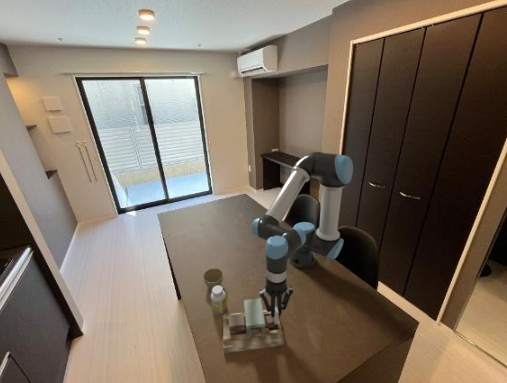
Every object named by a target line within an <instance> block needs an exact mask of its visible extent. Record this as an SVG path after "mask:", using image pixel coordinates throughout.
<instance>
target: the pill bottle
mask: <svg viewBox="0 0 507 383" xmlns="http://www.w3.org/2000/svg"><path fill="white" fill-rule="evenodd" d="M226 294H227V293H226V292H225V291H224V289H223V286H221V285H220V286H219V285H218V286H215V287H213V289H211V294H210V301H211V302H210V303H211V309H212V311H213V313H214V314H216V315H221V314H223V313H225V312H226V310H227V307H228V305H227V297H226V296H227V295H226Z"/></svg>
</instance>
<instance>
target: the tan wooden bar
mask: <svg viewBox="0 0 507 383" xmlns="http://www.w3.org/2000/svg"><path fill="white" fill-rule="evenodd" d="M241 313H242V314H235V313H233V314H234V315H229V331H230V335H238V334H245V331H246V319H244V313H243V312H241ZM264 320H265V328H270V329H271V328H275V327H276V324H275V321H274V317H272V316H264ZM250 329H251V330H257V329H261V327H256V328H250Z"/></svg>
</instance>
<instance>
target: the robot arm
mask: <svg viewBox="0 0 507 383" xmlns="http://www.w3.org/2000/svg"><path fill="white" fill-rule="evenodd" d="M290 173H291V174H289V176H288V178H287V179H286V181H285V182H284V184H283V186H282V187H281V189H280V190H279V192H278V194H277V195H276V197H275V198H274V200H273V201H272V203H271V204H270V206H269V208H268V209H267V211H266V212H265V213H264V214H263V217H262V218H261V217H257V218H255V219H254V220H253V221H252V223H251V226H250V230H251V233H252V235H254V236H256V237H257V238H259V239H262V240H265V241H266V242H265V252H264V253H265V262H266V263H265V279H266V280H265V282H266V283H265V286H264V289H259V290H258V291H259V298H261V300H263V303H264V306H265V308H266V309H265V310H267V312H270V311H271V316H272V317H274V321H275V325H277V324H278V317H281V316H282V313H283V312H282V311H285V310H286V309H287V306H288V304H289V301H290V298H291V296H292V295H293V293H294V290H293V287H292V286H291V285H290V286H288V285H287V276H288V275H287V274H288V262H289V263H290V265H292V266H294V267H295V268H298V269H309V268H312V267H313V266H314V265H315V262H316V256H315V254H316V255H320V256H322V257H324V258H327V259H329V260H335V259H336V258H337V257H338V256H339V254H340V252H341V250H342V247H343V246H344V239H343V238H341V237H340V236H341V234H340V232H339V230H338V227H339V226H338V225H339V217H340V211H341V209H340V208H341V202H342V194H343V193H342V192H343V188H344V187H347V184H350V183H351V180H352V179H353V178H352V176H353V174H354V165H353V160H352V159H351V157H349V156H348V155H342V154H339V153H337V154H336V153H330V152H321V151H314V152H313V151H312V152H310V153H307V154H306V155H304V156H302V157H301V158H299V159H298V161H296V162H295V163H294V165H293V166H292V167H291V169H290ZM311 178H318V179H319V185H320V186H321V187H322V190H321V202H320V217H319V227H318V228H317V229H316V226H315V224H313V223H311V222H309V221H308V222H307V221H303V222H302V221H301V222H298V223H296V224H295V225H293V227H292V228H291V227H290V228H289V229H288V228H286V227H284V226H281V223H282V221H283V219H284V218H285V217H286V215H287V213H288V211H289V209H291V207H292V204H293V203H294V201H295V200H296V198H297V196H298V195H299V193H300V191H301V190H302V188H303V187H304V185H305V183H307V182H309V181H310V179H311ZM267 295H269V296H270V303H269V300H268V298H267ZM276 298H277V299H276Z"/></svg>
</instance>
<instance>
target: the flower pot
mask: <svg viewBox="0 0 507 383" xmlns="http://www.w3.org/2000/svg"><path fill="white" fill-rule="evenodd" d="M202 279H203V282H204V284H205V285H206V287H207V288H209V289H210V290H212V289H213V287H215V286H218V285H219V286H221V284H222V282H223V279H224V271H222V270H221V269H220V268H210V269H207V270H205V272H204V273H203V275H202Z"/></svg>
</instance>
